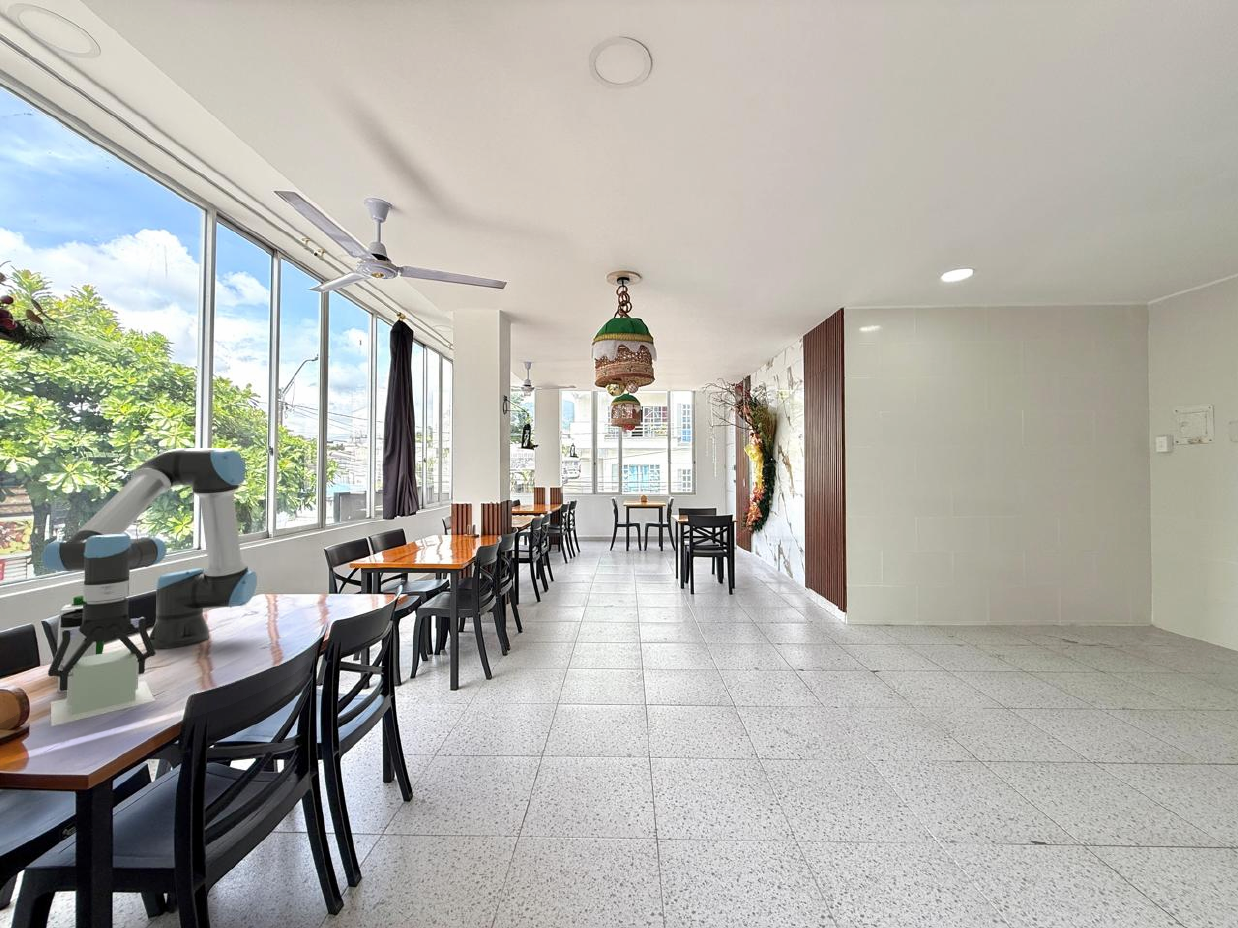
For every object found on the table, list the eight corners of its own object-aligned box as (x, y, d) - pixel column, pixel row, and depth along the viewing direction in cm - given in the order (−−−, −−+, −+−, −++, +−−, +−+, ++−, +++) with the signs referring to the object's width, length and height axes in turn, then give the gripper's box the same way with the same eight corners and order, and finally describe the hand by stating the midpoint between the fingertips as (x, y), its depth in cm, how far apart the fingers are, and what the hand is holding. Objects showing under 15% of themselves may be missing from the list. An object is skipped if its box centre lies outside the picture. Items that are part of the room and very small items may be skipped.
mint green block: (70, 702, 115) (72, 658, 116) (130, 688, 123) (131, 648, 123) (72, 715, 109) (73, 669, 109) (135, 699, 116) (136, 656, 117)
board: (50, 706, 116) (51, 701, 116) (145, 684, 128) (145, 680, 128) (51, 730, 104) (51, 725, 104) (154, 704, 116) (155, 699, 116)
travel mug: (95, 683, 129) (97, 606, 130) (93, 691, 124) (96, 610, 125) (59, 690, 124) (61, 610, 125) (56, 698, 120) (59, 615, 120)
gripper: (31, 612, 106) (27, 718, 105) (172, 594, 123) (170, 684, 122) (32, 607, 111) (28, 707, 110) (168, 590, 128) (165, 677, 127)
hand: (103, 695), depth 116 cm, fingers closed on mint green block, 10 cm apart
